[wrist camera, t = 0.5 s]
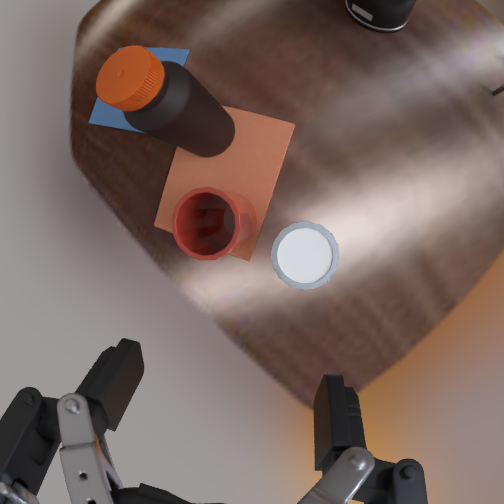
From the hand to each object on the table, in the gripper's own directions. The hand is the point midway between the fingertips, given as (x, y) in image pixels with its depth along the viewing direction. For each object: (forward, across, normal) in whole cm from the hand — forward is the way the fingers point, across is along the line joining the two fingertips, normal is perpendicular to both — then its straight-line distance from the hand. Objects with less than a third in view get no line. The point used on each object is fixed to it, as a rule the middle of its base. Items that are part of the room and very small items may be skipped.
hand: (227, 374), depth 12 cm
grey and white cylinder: (+25, -5, +4) cm, 26 cm away
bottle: (+30, +8, -8) cm, 32 cm away
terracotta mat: (+28, +6, -3) cm, 29 cm away
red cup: (+26, +4, +2) cm, 27 cm away
